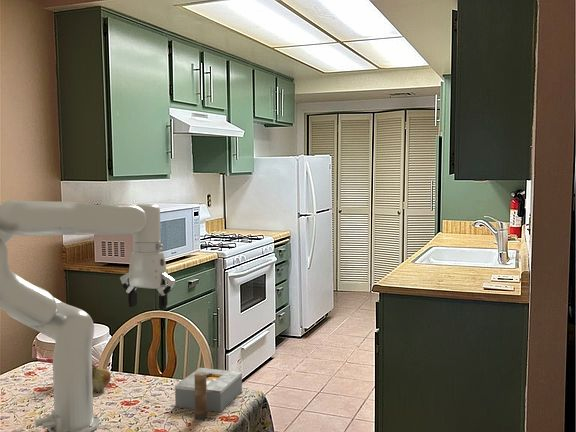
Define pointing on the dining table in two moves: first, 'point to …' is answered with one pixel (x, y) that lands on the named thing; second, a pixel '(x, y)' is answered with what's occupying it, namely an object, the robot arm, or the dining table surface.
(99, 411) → the dining table surface
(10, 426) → the dining table surface
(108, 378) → the onion
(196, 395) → the brown rounded rod
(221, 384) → the box
